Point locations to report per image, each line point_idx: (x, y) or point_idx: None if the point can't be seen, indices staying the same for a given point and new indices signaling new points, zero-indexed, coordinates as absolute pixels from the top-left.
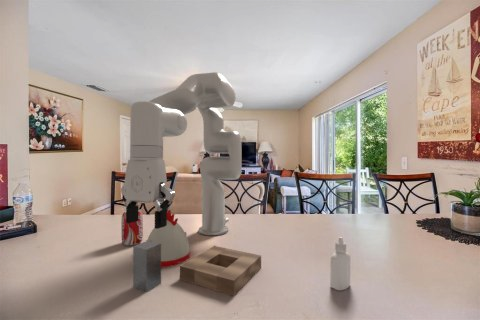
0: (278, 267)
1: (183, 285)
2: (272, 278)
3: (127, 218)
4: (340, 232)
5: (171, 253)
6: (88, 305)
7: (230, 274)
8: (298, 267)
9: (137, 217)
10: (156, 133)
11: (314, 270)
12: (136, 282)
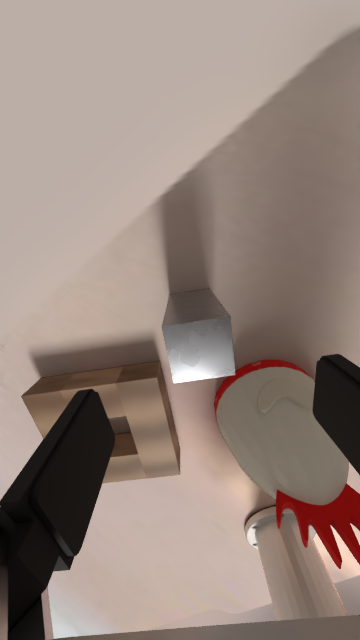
0: None
1: (135, 351)
2: None
3: (347, 372)
4: (75, 602)
5: (229, 405)
6: (222, 189)
7: (46, 408)
8: None
9: (325, 426)
10: None
11: None
12: (200, 292)
